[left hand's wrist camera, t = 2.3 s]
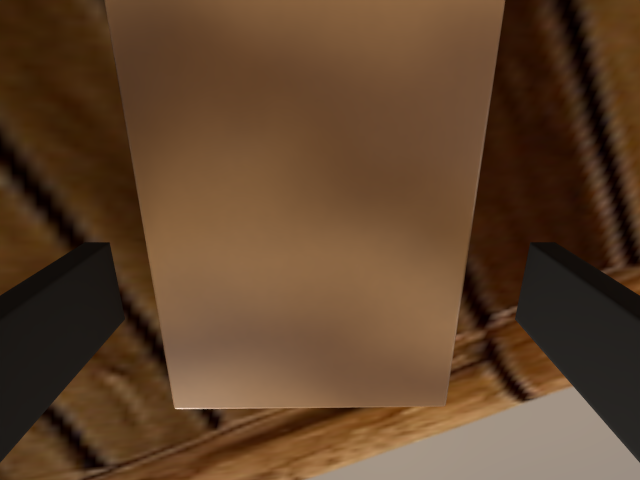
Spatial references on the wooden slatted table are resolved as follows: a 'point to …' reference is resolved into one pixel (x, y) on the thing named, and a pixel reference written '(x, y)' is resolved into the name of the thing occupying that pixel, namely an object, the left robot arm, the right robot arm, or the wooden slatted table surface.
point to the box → (306, 190)
